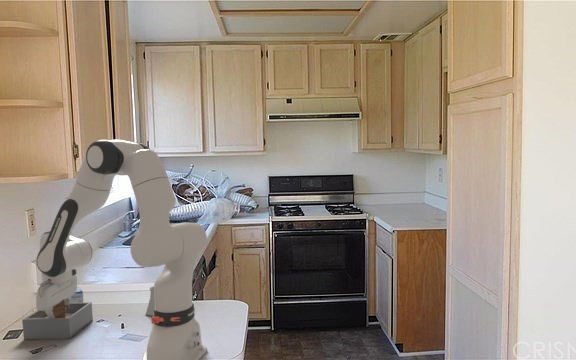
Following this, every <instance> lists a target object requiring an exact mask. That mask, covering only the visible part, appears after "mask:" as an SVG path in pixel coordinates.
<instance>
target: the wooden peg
mask: <svg viewBox="0 0 576 360" xmlns="http://www.w3.org/2000/svg"><path fill="white" fill-rule="evenodd" d="M52 312H53V314H55V318H66V316H65V302H64V299H63V300H62V301H61V302H60V303H59V304H57V305H55V306H54V307H53V310H52Z"/></svg>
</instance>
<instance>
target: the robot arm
mask: <svg viewBox="0 0 576 360" xmlns="http://www.w3.org/2000/svg"><path fill="white" fill-rule="evenodd" d="M116 176H127V177H128V178H129V181H130V184H131V188H132V190H133V194H134V197H135V201H136V204H137V208H138V212H139V225H138V230H137V232H136V234H135V236H133V238H132V241H131V243H130V255H131V258H132V259H133V261H134V262H135V263H136V265H137V266H138V267H141V268H154V267H156V268H157V267H161V266H163V265H164V267H163V269H162V272H161V273H160V274H159V275H158V276H157V278H156V279H155V281H154V285H153V287H154V295H155V308H154V313H153V316H151V319H150V320H151V321H150V322H151V330H150V333H149V338H148V341H147V344H146V345H147V346H146V349H145V351H144V354H143V356H142V359H141V360H201V358H202V357H203V356H204V355H205V354H206V353H207V352H208V348H207V346H206V345H204V344H202V343H203V341H202V333H201V324H200V323H199V321H197V320H196V318H195V315H196V314H195V311H196V310H195V309H196V308H195V305H194V303H193V277H194V271H195V267H196V264H197V262H198V259H199V256H200V254H201V253H202V252H203V250H205V248H206V245H207V243H208V242H207V241H208V237H207V232H206V230H205V228H204V227H203V226H202V225H201V224H199V223H197V222H187V221H186V222H185V221H183V222H180V223H175V224H171V223H170V212H171V211H172V210H173V209H174V207H175V205H176V201H177V200H176V197H175V193H174V190H173V188H172V184H171V182H170V178H169V175H168V173H167V170H166V169H165V166H164V164H163V162H162V160H161V158H160V156H159V155H158V154H157V152H156V151H154V150H153V149H150V148H149V146H147V145H146V144H143V143H140V142H137V141H135V142H133V141H129V140H128V141H127V140H123V139H111V140H108V139H100V140H96V141H94V142H92V143H91V144H89V146H88V147H87V150H86V153H85V156H84V159H83V161H82V163H81V164H80V167H79V170H78V172H77V176H76V178H75V183H74V185H73V187H72V190H71V192H70V193H69V195H68V197H67V198H66V200H65V201H64V202H63V203H62V205H61V206H60V207H59V209H58V212H57V214H56V216H55V218H54V221H53V224H52V226H51V228H50V230H49V231H46V232H44V233H42V234H41V236H40V238H39V239H40V240H39V251H38V253H37V255H36V266H37V268H38V270H39V271H40V273H41V283H40V285H39V287H38V289H37V291H36V294H35V295H36V298H35V306H36V309H37V310H38V311H45V313H46V314H47V317H48V318H55V314H53V312H52V310H53V307H54V306H55V305H57V304H59V303H60V302H61V301H62V300H63V299H64V302H65V310H68V309H69V303H70V300H71V296H72V295H73V294H75V293H76V291H77V287H78V280H77V279H78V277H77V273H78V268H81V267H83V266H86V265H88V264H89V263H90V262H91V260H92V258H93V248H92V246H91V244H90V243H89V242H88V241H87V240H86V239H82V238H78V237H75V236H73V235H71V234H72V233H73V230H74V228H75V226H76V225H77V224H78V223H79V222H80V221H81V220H83V219H84V218H85V217H88V216H89V215H90V214H92V213H95V212H96V211H98V210H100V209H101V208H102V207H103V206H104V205H105V204H106V202H107V200H108V199H109V196H110V193H111V190H112V185H113V183H114V182H113V181H114V179H115V177H116ZM37 310H36V311H37Z"/></svg>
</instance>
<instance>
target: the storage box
mask: <svg viewBox="0 0 576 360" xmlns="http://www.w3.org/2000/svg"><path fill="white" fill-rule="evenodd" d="M65 316H66V318H48V317H47V314H46V313H45V311H38V310H36V311H34V312H32V313H31V314H29V315H28V316H26V317H24V318H22V320H21V321H22V333H23V334H22V335H23V340H24V339H25V340H24V341H27V340H26V339H30V340H31V341H33V340H34V341H35V340H36V339H38V340H39V339H40V340H41V341H42V340H71V339H72V338H73V337H75V336H76V335H78V333H80V332H81V331H82V330H84V329H85V328H86V327H87V326H88V325H90V324H91V323H92V322H93V321H94V318H93V303H92V301H91V302H84V303H69V309H68V310H65ZM32 339H33V340H32ZM38 340H37V341H38Z"/></svg>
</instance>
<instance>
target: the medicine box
mask: <svg viewBox="0 0 576 360" xmlns="http://www.w3.org/2000/svg"><path fill="white" fill-rule="evenodd" d="M70 303H85V302H84V291H83V290H82V289H81V288H80V287H79V286H77V291H76V293H75V294H73V295H72V296H71V300H70Z"/></svg>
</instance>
